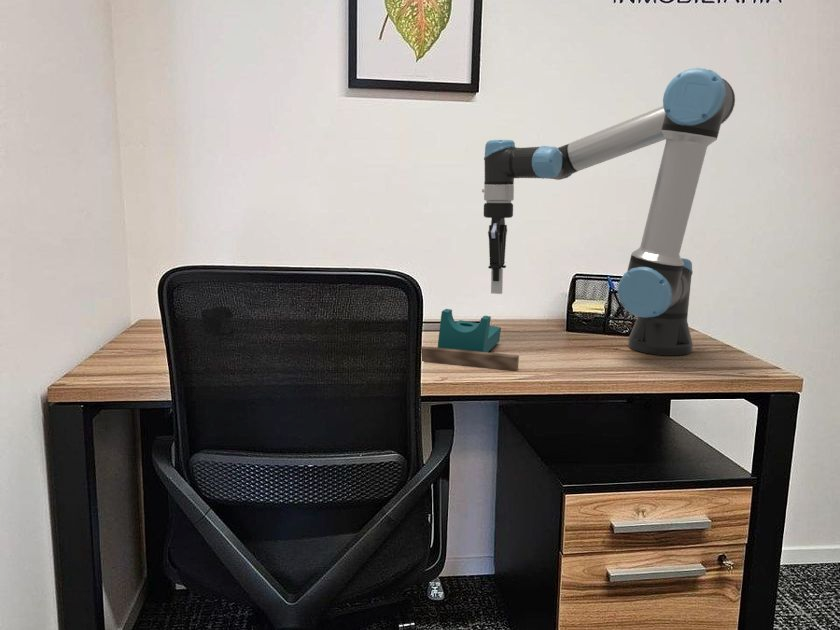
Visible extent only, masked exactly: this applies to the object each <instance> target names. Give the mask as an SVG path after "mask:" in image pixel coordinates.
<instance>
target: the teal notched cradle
mask: <svg viewBox="0 0 840 630" xmlns="http://www.w3.org/2000/svg"><path fill="white" fill-rule="evenodd" d="M440 314H441V315H440V316H441V317H440V325H439V333H438V339H437V348H446V349H457V350H467V351H478V352H488V353H490V352H489V351H491V350H492V349H493V348H494V347H495V346H497V344H498V343H499V342H500V339H501V330H502V327H500V326H495V325H491V319H492V317H491V316H489V315H483V316H482V317H481V318H480V322H479V323H478V322H473V321H466V320H462V319H459V320H458V321H455V319H454V317H453V309H450V308H449V309H448V308H445V309H443V310H442V311H441V313H440Z"/></svg>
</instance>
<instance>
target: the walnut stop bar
mask: <svg viewBox="0 0 840 630" xmlns="http://www.w3.org/2000/svg"><path fill="white" fill-rule="evenodd" d="M421 347H422V361H421V362H424V363H425V362H427V363H435V364H444V365H445V364H446V365H455V366H465V367H475V368H483V369H485V368H486V369H492V370H493V369H495V370H504V371H514V372H518V370H519V360H520V356H519V355H517V354H507V353H497V352H478V351H467V350H457V349H446V348H438V347H433V346H424V345H423V346H421Z"/></svg>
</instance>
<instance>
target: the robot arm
mask: <svg viewBox="0 0 840 630" xmlns="http://www.w3.org/2000/svg"><path fill="white" fill-rule="evenodd" d="M735 103H736V96H735V92H734V88H733V87H732V86H731V84H730V83H729V82H728V81H727V80H726V79H724V78H722V76H720V75H719V74H718V73H717V72H716V71H713V70H711V69H706V68H700V67H695V68H687V69H685V70H683V71H681V72H680V73H678V74H677V75H675V76H674V77H673V78H672V79H671V81H669V83H668V84H667V86H666V88H665V90H664V93H663V98H662V105H663V106H660V107H657V108H655V109H652V110H649V111H646V112H645V113H642V114H639V115H637V116H635V117H632V118H630V119H626V120H625V121H622V122H619V123H617V124H613V125H611V126H610V127H607V128H604V129H602V130H599V131H596V132H594V133H592V134H590V135H587V136H584V137H582V138H580V139H576V140H574V141H572V142H568V143H567V144H564V145H561V146H559V147H557V146H548V145H541V146H531V147H530V146H528V147H516V143H515V141H514V140H513V139H491V140H490V139H489V140H488V141H487V142H486V143H485V147H484V157H483V160H484V182H483V183H484V184H483V185H484V188H482V190H481V192H482V193H483V199H484V202H485V201H486V202H485V203H484V204H483V217H484V218H488V219H490V218H491V221H490V225H488V231H487V234H488V248H489V266H488V270H489V269H491V272H490V274H491V275H490V276H491V278H490V279H491V280H490V281H491V283H490V294H496V295H497V294H498V295H502V294H503V278H504V277H503V276H504V275H503V273H504V271H503V270H504V269H506V267H507V265H506V264H505V263H506V261H505V258H506V248H507V247H506V245H507V244H506V242H507V235H508V225H507V224H506V220H505V219H507V218H508V219H509V218H511V219H512V217H513V216H514V204H513V203H512V201H514V198H515V197H514V195H515V194H514V193H515V185H514V184H515V179H543V180H544V179H547V180H548V179H549V180H556V181H560V180H563V179H568V178H569V177H571V176H572V175H573V174H575V173H578V172H579V171H582V170H586V169H588V168H591V167H594V166H596V165H598V164H599V165H600V164H602V163H604V162H607V161H610V160H613V159H615V158H618V157H621V156H623V155H626V154H629V153H632V152H635V151H637V150H640V149H643V148H645V147H649V146H651V145H654V144H656V143H661V142H662V141H664V140H665V145H664V149H663V152H662V157H661V159H660V160H661V161H660V164H659V165H660V166H659V168H658V173H657V176H656V179H655V180H656V181H655V184H654V185H655V186H654V189H653V192H652V193H653V194H652V198H651V201H650V204H649V209H648V210H649V211H648V214H647V218H646V222H645V226H644V230H643V235H642V238H641V243H640V246H639V247H638V248H637V249H636V250H633V251H632V252H631V255H630V258H629V263H628V266H627V271H626V272H625V273H624V274H623V276H622V277H621V278H620V280H619V282H618V285H617V295H618V300H619V303H620V304H621V306H623V308H624V310H625V311H627V312H628V313H630V314H631V315H633V316H636V317H637V318H636V319H635V323H634V325H633V327H632V329H631V332H630V334H629V336H628V342H627V343H628V344H627V345H628V348H630V349H632V350H634V351H635V352H641V353H645V354H651V355H657V356H684V355H685V356H686V355H689V354H691V353H692V351H693V340H692V335H691V332H690V328H689V327H690V326H689V323H688V316H689V315H688V313H689V305H690V295H691V284H692V275H693V262H692V261H691V260H690V259H689V258H683V257H681V256H680V255H681V254H680V253H681V248H682V245H683V241H684V238H685V234H686V230H687V226H688V222H689V219H690V214H691V210H692V206H693V204H694V199H695V196H696V191H697V187H698V185H699V180H700V175H701V173H702V172H701V171H702V168H703V166H704V165H703V164H704V161H705V156H706V154H707V148H708V147H709V146H710V145H711V144H713V143H714V142H716V141H717V140H718V137H719V133H720V129H721V125H722V124H724V123H725V122H726V121H727V120H728V119H729V118H730V116H731V115H732V113H733V111H734V108H735V106H736V105H735Z"/></svg>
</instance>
